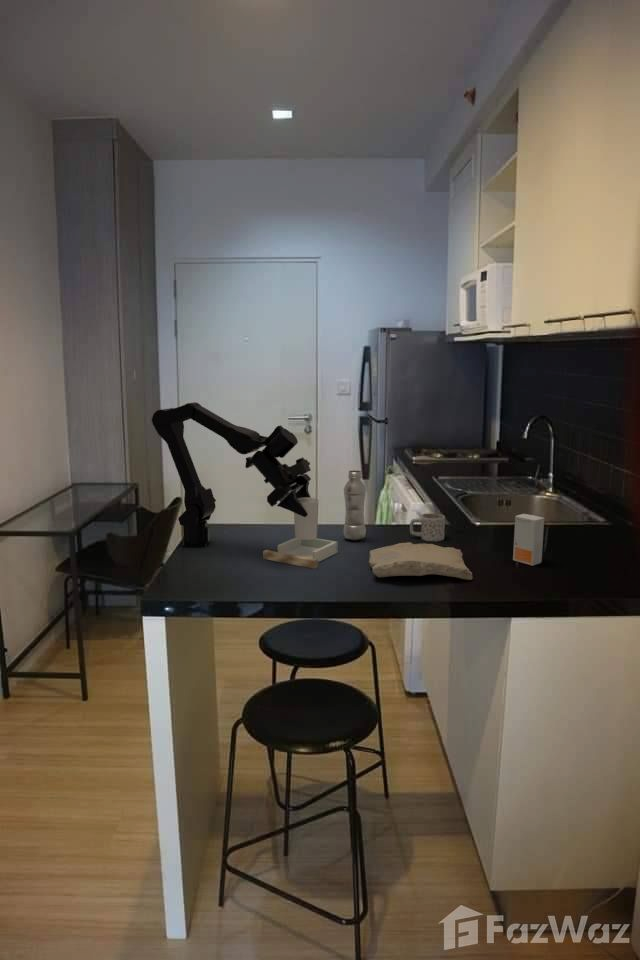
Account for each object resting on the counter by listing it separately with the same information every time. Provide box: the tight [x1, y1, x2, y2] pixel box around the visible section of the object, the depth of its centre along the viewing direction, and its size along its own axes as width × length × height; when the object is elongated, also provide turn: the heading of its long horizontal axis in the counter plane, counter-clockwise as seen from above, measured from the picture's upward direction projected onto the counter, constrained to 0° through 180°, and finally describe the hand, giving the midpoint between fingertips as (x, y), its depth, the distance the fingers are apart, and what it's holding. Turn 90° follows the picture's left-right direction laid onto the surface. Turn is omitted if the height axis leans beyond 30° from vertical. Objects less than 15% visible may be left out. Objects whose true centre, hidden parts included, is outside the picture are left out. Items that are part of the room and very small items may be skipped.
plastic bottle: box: [343, 469, 367, 541], centre depth 191 cm, size 6×7×20 cm
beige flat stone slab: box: [368, 541, 473, 581], centre depth 163 cm, size 24×8×20 cm
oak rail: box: [262, 549, 319, 569], centre depth 171 cm, size 16×2×2 cm, turn 58°
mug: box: [409, 512, 446, 542], centre depth 193 cm, size 10×7×7 cm, turn 89°
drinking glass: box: [293, 497, 319, 540], centre depth 176 cm, size 7×7×10 cm
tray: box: [277, 537, 339, 563], centre depth 178 cm, size 12×12×3 cm
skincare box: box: [512, 513, 545, 567], centre depth 170 cm, size 6×4×12 cm
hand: (310, 513), depth 176 cm, fingers closed on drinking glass, 6 cm apart
